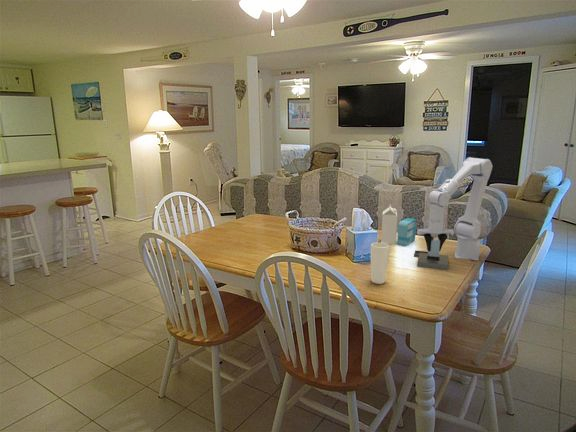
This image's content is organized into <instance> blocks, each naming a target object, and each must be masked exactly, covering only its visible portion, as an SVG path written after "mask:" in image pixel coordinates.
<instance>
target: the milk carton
mask: <svg viewBox="0 0 576 432" xmlns="http://www.w3.org/2000/svg"><path fill="white" fill-rule="evenodd" d="M381 215H382V217H381V237H380V238H381V239H380V242H382V243H386V244H388V245H397V234H398V210H397V209H396V208H395V207H392V206H391V203H390V204H389V207H387V208H385V210H383V211H382V213H381Z"/></svg>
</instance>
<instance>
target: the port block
mask: <svg viewBox="0 0 576 432" xmlns="http://www.w3.org/2000/svg"><path fill="white" fill-rule="evenodd" d="M416 264H417V265H416V266H417V267H418V268H426V269H427V268H428V269H434V270H435V269H437V270H443V271H444V270H445V271H448V270H449V255H446V254H439V256H430V255H429V254H428V253H420V252H419V257H417V262H416Z"/></svg>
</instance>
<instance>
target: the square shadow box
mask: <svg viewBox="0 0 576 432" xmlns="http://www.w3.org/2000/svg"><path fill="white" fill-rule="evenodd" d="M419 252H420V253H428V251H424V250H416V249H415V250H414V254H413V257H414V258H418V257H419Z"/></svg>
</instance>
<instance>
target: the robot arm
mask: <svg viewBox="0 0 576 432" xmlns="http://www.w3.org/2000/svg"><path fill="white" fill-rule="evenodd" d="M492 171H493V163H492V161H491V160H490V159H489V158H478V157H471V156H469V157H467V158H465V160H464V161H463V162H462V166H461V168H460V169H459V170H458V171H457V172H456V174H455V175H454V176H453V177H452V178H448V179H446V180H445V181H444V182H443V183H442V184H441V185H440V186H439V187H438V188H437V189H436V190H433V191H431V192H429V194H428V197H427V202H428V207H429V216H428V226H427V227H428V228H416V230H417V231H416V233H417V235H418V236H421V235H422V236H423V238H424V240H425V244H426V249H427V252H428V251H430V250H431V241H432V237H431V235H437V237H438V239H439V240H440V250H439V252H441V250H442V248H443V245H444V244H445V242H446V240H447V239H448V235H450V236H454V235H455V234H456V237H457V239H456V241H457V242H456V249H455V251H454V257H455V258H456V259H457V258H458V259H466V260H471V261H479V257H480V253H481V252H480V248H481V238H479V237H480V235H481V233H482V232H481V231H482V230H481V227H482V222H481V221H480V220H479V218H478V216H479V213H480V209H481V205H482V201H483V198H484V195H485V191H486V189H487V185H488V181H489V179H490V176H491V174H492ZM469 176H470V177H471V178H472V179H473V183H472V186H471V189H470V193H469V197H468V200H467V203H466V207H465V210H464V214H463V215H462V216H460V217H458V218H457V221H456V223H455V225H454V227H453V229H451V228H450V229H449V228H444V219H445V209H446V206H447V205H448V204H449V201H450V199H451V197H452V195H453V194H455V193H456V192H457V190H458V189H459V187H460V186H459V185H460V184H461V183H462V182H463V181H464V180H466V179H467V178H468V177H469Z"/></svg>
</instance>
